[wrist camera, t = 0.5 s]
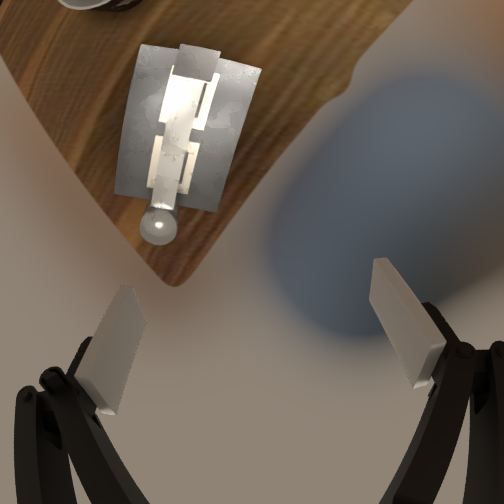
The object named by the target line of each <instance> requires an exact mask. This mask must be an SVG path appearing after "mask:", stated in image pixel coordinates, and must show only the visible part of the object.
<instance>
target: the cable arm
mask: <svg viewBox="0 0 504 504" xmlns="http://www.w3.org/2000/svg"><path fill="white" fill-rule="evenodd" d="M220 53H221V52H220V51H215V50H211V49H206V48H201V47H196V46H191V45H186V44H180V47H179V51H178V54H177V57H176V61H175V64H174V68H173V71H172V75H177V76H178V79H177V83H176V86H175V90H174V94H173V98H172V102H171V106H170V110H169V114H168V119H167V123H166V127H165V132H164V136H163V141H162V146H161V151H160V156H159V161H158V166H157V172H156V177H155V183H154V189H153V195H152V201H151V202H150V203H149V204H148V205H147V206H146V208H145V211H144V214H143V217H142V219H141V222H140V227H139V228H140V233H141V235H142V237H143V238H144V239H145V240H146V241H148V242H149V243H151V244H155V245H164V244H167V243H169V242H171V241H172V240H173V239H174V237H175V236H176V233H177V226H178V220H179V212H178V209H177V207H176V206H175V205H174V203H175V198H176V193H177V189H178V184H179V179H180V175H181V170H182V166H183V162H184V157H185V153H186V149H187V145H188V141H189V137H190V133H191V129H192V125H193V121H194V117H195V114H196V110H197V106H198V103H199V99H200V96H201V92H202V89H203V85H204V82H205V81H207V82H212V79H213V75H214V72H215V69H216V66H217V63H218V59H219V56H220Z"/></svg>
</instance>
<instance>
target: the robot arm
mask: <svg viewBox="0 0 504 504" xmlns="http://www.w3.org/2000/svg"><path fill="white" fill-rule="evenodd" d="M1 2H2V0H0V4H1ZM369 301H370V303H371V305H372V306H373V309H374V310H375V312H376V314H377V316H378V318H379V320H380V322H381V324H382V326H383V328H384V330H385V332H386V333H387V335H388V338H389V339H390V341H391V343H392V345H393V348H394V349H395V352H396V354H397V356H398V358H399V360H400V362H401V364H402V366H403V368H404V370H405V372H406V375H407V377H408V379H409V381H410V383H411V385H412V388H413V389H414V388H417V387H420V386H424V385H426V384H428V382H429V380H430V378H431V376H432V378H433V380H434V382H435V383H434V385H433V387H432V389H431V391H430V392H429V394H428V396H429V398H428V401H427V404H426V407H425V409H424V412H423V414H422V417H421V420H420V422H419V425H418V427H417V429H416V432H415V434H414V436H413V439H412V441H411V443H410V445H409V447H408V450H407V452H406V454H405V456H404V458H403V460H402V462H401V464H400V466H399V468H398V470H397V472H396V474H395V476H394V478H393V480H392V481H391V483H390V485H389V487H388V489H387V491H386V492H385V494H384V496H383V497H382V499H381V501H380V502H379V504H433V502H434V500H435V498H436V496H437V494H438V491H439V489H440V487H441V484H442V482H443V479H444V477H445V474H446V472H447V469H448V467H449V464H450V461H451V458H452V456H453V453H454V449H455V447H456V444H457V441H458V437H459V434H460V430H461V427H462V424H463V420H464V416H465V413H466V409H467V405H468V400H469V396H470V437H469V455H468V467H467V476H466V484H465V492H464V498H463V504H504V342H502V341H495V342H494V343H493V344H492V345H491V347H490V349H489V350H475V348H474V347H473V346H472V345H471V344H469V343H467V342H461V341H460V340H459V339H458V337H457V336H456V335H455V333H454V331H453V330H452V329H451V327H450V326H449V324H448V323H447V322H446V321H445V319H444V317H443V316H442V315H441V313H440V312H439V310H438V309H437V308H436V307H435V306H433V305H432V304H431V303H429V302H426V303H420V302H419V300H418V299H417V297H416V296H415V295H414V293H413V292H412V290H411V289H410V288H409V286H408V285H407V284H406V282H405V281H404V280H403V278H402V277H401V276H400V274H399V273H398V272H397V270H396V269H395V268H394V267H393V265H392V264H391V263H390V261H389V260H388V259H387V258H379V259H374V263H373V273H372V281H371V289H370V296H369ZM146 324H147V322H146V319H145V317H144V314H143V312H142V309H141V307H140V304H139V302H138V299H137V296H136V294H135V291H134V288H133V285H122V286H120V287H119V289H118V291H117V293H116V294H115V296H114V298H113V300H112V302H111V303H110V305H109V307H108V309H107V311H106V313H105V315H104V316H103V318H102V320H101V322H100V324H99V326H98V328H97V330H96V332H95V334H94V336H93V337H87V338H86V339H85V340H84V341H83V342H82V343H81V345H80V347H79V349H78V352H77V353H76V355H75V359H73V361H72V363H71V365H70V367H69V369H68V372H67V373H66V375H65V374H64V372H63V371H62V369H61V368H59V367H50V368H48V369H46V370H45V371H44V372H43V373H42V374H41V376H40V379H39V384H40V385H41V386H42V387H43V389H44V390H45V391H42V392H38V391H37V390H36V389H35V388H34V386H25V387H23V388H22V389H21V390H20V391H19V392H18V394H17V397H16V407H15V424H14V468H15V484H16V494H17V504H77V501H76V496H75V491H74V487H73V481H72V476H71V470H70V464H69V457H68V454H69V456H70V459H71V461H72V463H73V465H74V468H75V470H76V472H77V475H78V477H79V479H80V481H81V483H82V485H83V488H84V490H85V492H86V494H87V496H88V498H89V500H90V502H91V503H92V504H150V503H149V502H148V501H147V499H146V498H145V497H144V495H143V493H142V492H141V491H140V489H139V488H138V486H137V485H136V483H135V482H134V480H133V478H132V477H131V475H130V474H129V472H128V471H127V469H126V467H125V466H124V464H123V462H122V461H121V459H120V457H119V456H118V454H117V452H116V450H115V448H114V447H113V445H112V443H111V441H110V440H109V437H108V436H107V434H106V432H105V430H104V428H103V426H102V424H101V422H100V420H99V418H98V416H97V415H96V414H95V411H96V408H97V407H98V408H99V410H100V411H101V412H102V413H103V414H111V415H116V414H117V411H118V408H119V404H120V401H121V398H122V395H123V391H124V388H125V385H126V382H127V378H128V376H129V373H130V369H131V366H132V364H133V360H134V358H135V355H136V352H137V349H138V346H139V343H140V340H141V337H142V335H143V332H144V329H145V326H146Z"/></svg>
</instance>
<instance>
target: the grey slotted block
mask: <svg viewBox="0 0 504 504" xmlns="http://www.w3.org/2000/svg"><path fill="white" fill-rule="evenodd" d="M178 51H179V50H178V49H172V48H165V47H159V46H151V45H143V44H141V46H140V50H139V54H138V57H137V61H136V65H135V69H134V73H133V78H132V82H131V87H130V91H129V96H128V101H127V106H126V111H125V116H124V122H123V128H122V134H121V140H120V147H119V154H118V162H117V170H116V179H115V189H114V194H118V195H123V196H129V197H135V198H141V199H146V200H152V195H153V189H154V183H155V177H156V172H157V166H158V161H159V156H160V151H161V146H162V141H163V136H164V132H165V127H166V123H167V119H168V114H169V110H170V106H171V102H172V98H173V94H174V90H175V86H176V83H177V79H178V76H177V75H172V71H173V68H174V64H175V61H176V57H177V54H178ZM261 70H262V69H259V68H256V67H253V66H249V65H245V64H242V63H238V62H234V61H230V60H226V59H222V58H219V59H218V63H217V66H216V69H215V72H214V75H213V79H212V82H207V81H205V82H204V85H203V89H202V92H201V96H200V99H199V103H198V106H197V110H196V114H195V117H194V121H193V125H192V129H191V133H190V137H189V141H188V145H187V149H186V153H185V157H184V162H183V166H182V170H181V175H180V179H179V184H178V189H177V193H176V198H175V203H174V205H175V206H176V207H177V205H179V206H185V207H190V208H195V209H200V210H206V211H211V212H216V213H217V209H218V206H219V202H220V199H221V195H222V192H223V189H224V185H225V182H226V178H227V175H228V172H229V168H230V165H231V162H232V159H233V155H234V152H235V149H236V146H237V142H238V139H239V136H240V133H241V130H242V127H243V123H244V120H245V117H246V114H247V111H248V108H249V105H250V102H251V99H252V96H253V93H254V90H255V87H256V84H257V81H258V78H259V75H260V73H261Z"/></svg>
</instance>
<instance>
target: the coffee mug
mask: <svg viewBox="0 0 504 504" xmlns="http://www.w3.org/2000/svg"><path fill="white" fill-rule="evenodd" d="M58 1H59V2H60V3H61V4H62V5H64V6H65V7H67V8H70V9H76V10H100V11H115V12H116V11H125V10H128V9H131V8H133V7H135V6H136V5H138V4H139V3H140V2H141V1H142V0H58Z"/></svg>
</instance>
